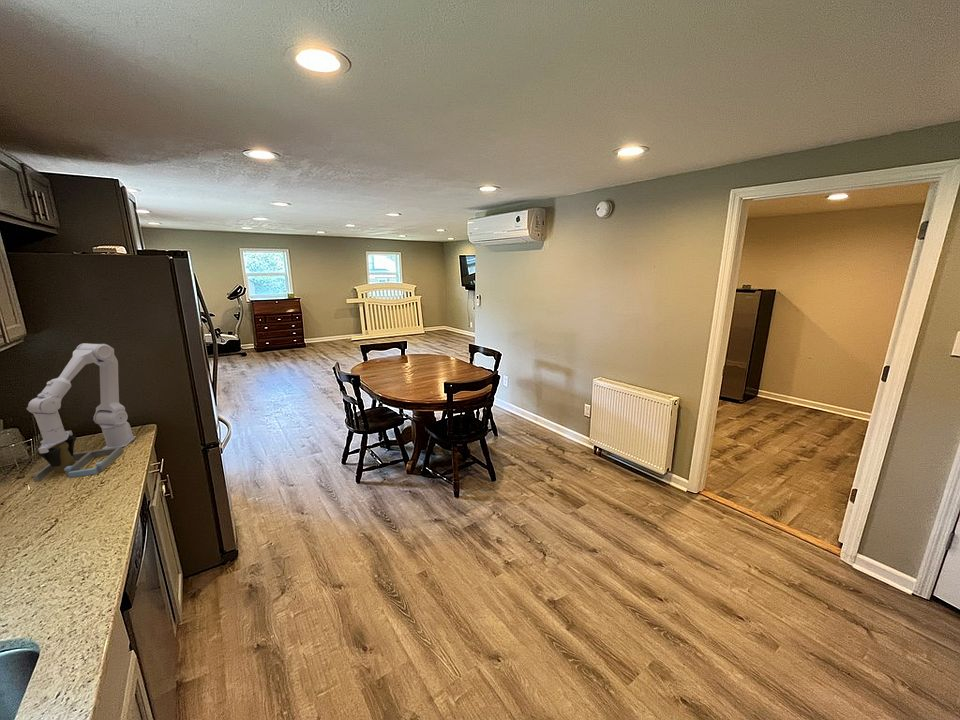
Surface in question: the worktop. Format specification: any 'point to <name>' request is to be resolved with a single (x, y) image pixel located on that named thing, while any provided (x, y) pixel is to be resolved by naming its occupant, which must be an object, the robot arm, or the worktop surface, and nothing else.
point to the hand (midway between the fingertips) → (63, 461)
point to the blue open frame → (82, 460)
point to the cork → (63, 457)
